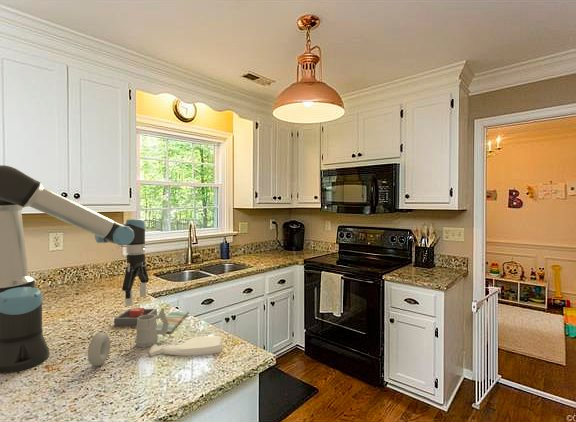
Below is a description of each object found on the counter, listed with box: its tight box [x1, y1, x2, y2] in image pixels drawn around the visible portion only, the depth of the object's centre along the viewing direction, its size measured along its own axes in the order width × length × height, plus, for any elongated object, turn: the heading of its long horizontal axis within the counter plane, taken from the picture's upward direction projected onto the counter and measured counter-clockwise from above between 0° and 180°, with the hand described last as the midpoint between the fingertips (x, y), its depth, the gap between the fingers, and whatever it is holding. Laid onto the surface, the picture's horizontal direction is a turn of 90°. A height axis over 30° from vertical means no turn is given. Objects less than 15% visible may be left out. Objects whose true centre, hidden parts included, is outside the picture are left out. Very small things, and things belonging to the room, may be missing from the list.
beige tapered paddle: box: [148, 335, 223, 357], centre depth 114 cm, size 3×11×24 cm
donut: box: [87, 332, 111, 367], centre depth 103 cm, size 10×4×10 cm, turn 4°
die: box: [129, 307, 145, 318], centre depth 143 cm, size 5×5×5 cm
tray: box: [113, 308, 158, 327], centre depth 143 cm, size 13×13×3 cm
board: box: [156, 311, 190, 334], centre depth 141 cm, size 24×8×1 cm, turn 1°
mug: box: [135, 307, 169, 348], centre depth 120 cm, size 8×12×12 cm, turn 129°
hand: (136, 301), depth 143 cm, fingers open, 13 cm apart
